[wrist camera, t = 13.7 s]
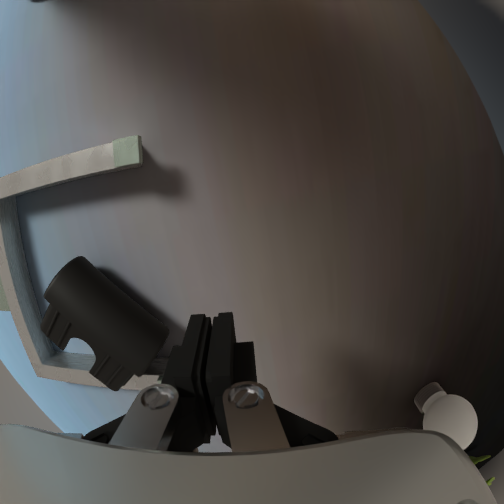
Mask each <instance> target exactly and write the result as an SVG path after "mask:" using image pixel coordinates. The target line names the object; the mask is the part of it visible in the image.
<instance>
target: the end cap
mask: <svg viewBox="0 0 504 504" xmlns="http://www.w3.org/2000/svg"><path fill="white" fill-rule="evenodd" d="M44 298H45V299H46V300H47V301H48V302H49V303H50V304H49V306H48V309H47V311H46V313H45V316H44V318H43V320H42V323H41V326H40V329H41V331H42V332H43V333H44V334H45V335H46V336H47V337H48V338H49V339H50V340H51V341H53V342H54V343H55V344H56V345H57V346H58V347H59V348H60V349H61V350H62V351H63V350H64V349H65V347H66V346H67V344H68V342H69V340H70V339H71V338H79V339H82V340H83V341H85V342H86V343H87V344H88V345H89V346H90V347H91V348H92V350H93V351H94V354H95V358H96V360H95V363H94V365H93V366H92V368H91V369H90V371H89V373H90V374H91V375H92V376H94V377H95V378H96V379H98V380H99V381H100V382H102V383H103V384H104V385H106V386H107V387H108V388H110V389H111V390H113V391H118V390H119V389H120V388H121V387H122V386H125V385H126V383H127V382H128V381H129V380H130V379H131V378H132V376H133V375H136V376H137V377H141V376H142V375H143V374H144V372H145V371H146V370H147V369H148V367H149V366H150V365H151V363H152V362H153V360H154V359H155V357H156V356H157V354H158V353H159V351H160V350H161V348H162V346H163V345H164V343H165V341H166V339H167V337H168V334H169V329H168V327H167V326H165V325H164V324H163V323H161V322H160V321H159V320H158V319H156V318H155V317H154V316H152V315H151V314H150V313H149V312H147V311H146V310H145V309H144V308H142V307H141V306H140V305H139V304H137V303H136V302H135V301H134V300H132V299H131V298H130V297H129V296H128V295H126V294H125V293H124V292H123V291H122V290H121V289H119V288H118V287H117V286H116V285H115V284H114V283H112V282H111V281H110V280H109V279H108V278H107V277H106V276H104V275H103V274H102V273H101V272H100V271H99V270H98V269H97V268H96V267H94V266H93V265H92V264H91V263H90V262H89V261H88V260H87V259H86V258H85V257H83V256H79V257H76V258H74V259H72V260H71V261H70V262H68V263H67V264H66V265H65V266H64V267H63V268H62V269H61V270H60V271H59V272H58V273H57V275H56V276H55V277H54V278H53V280H52V281H51V283H50V284H49V286H48V288H47V289H46V291H45V293H44Z"/></svg>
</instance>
